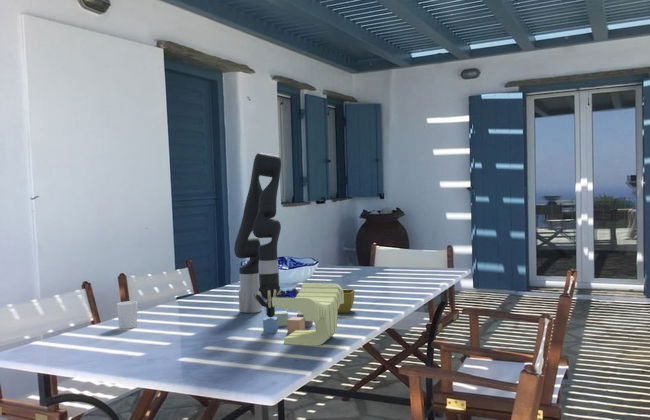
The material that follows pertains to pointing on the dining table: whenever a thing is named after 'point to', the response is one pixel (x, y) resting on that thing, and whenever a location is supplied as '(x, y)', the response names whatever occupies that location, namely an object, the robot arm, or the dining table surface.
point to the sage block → (281, 317)
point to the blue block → (270, 325)
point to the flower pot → (347, 301)
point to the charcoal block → (307, 323)
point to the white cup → (127, 314)
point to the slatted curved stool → (314, 311)
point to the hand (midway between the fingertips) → (270, 317)
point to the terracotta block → (295, 324)
